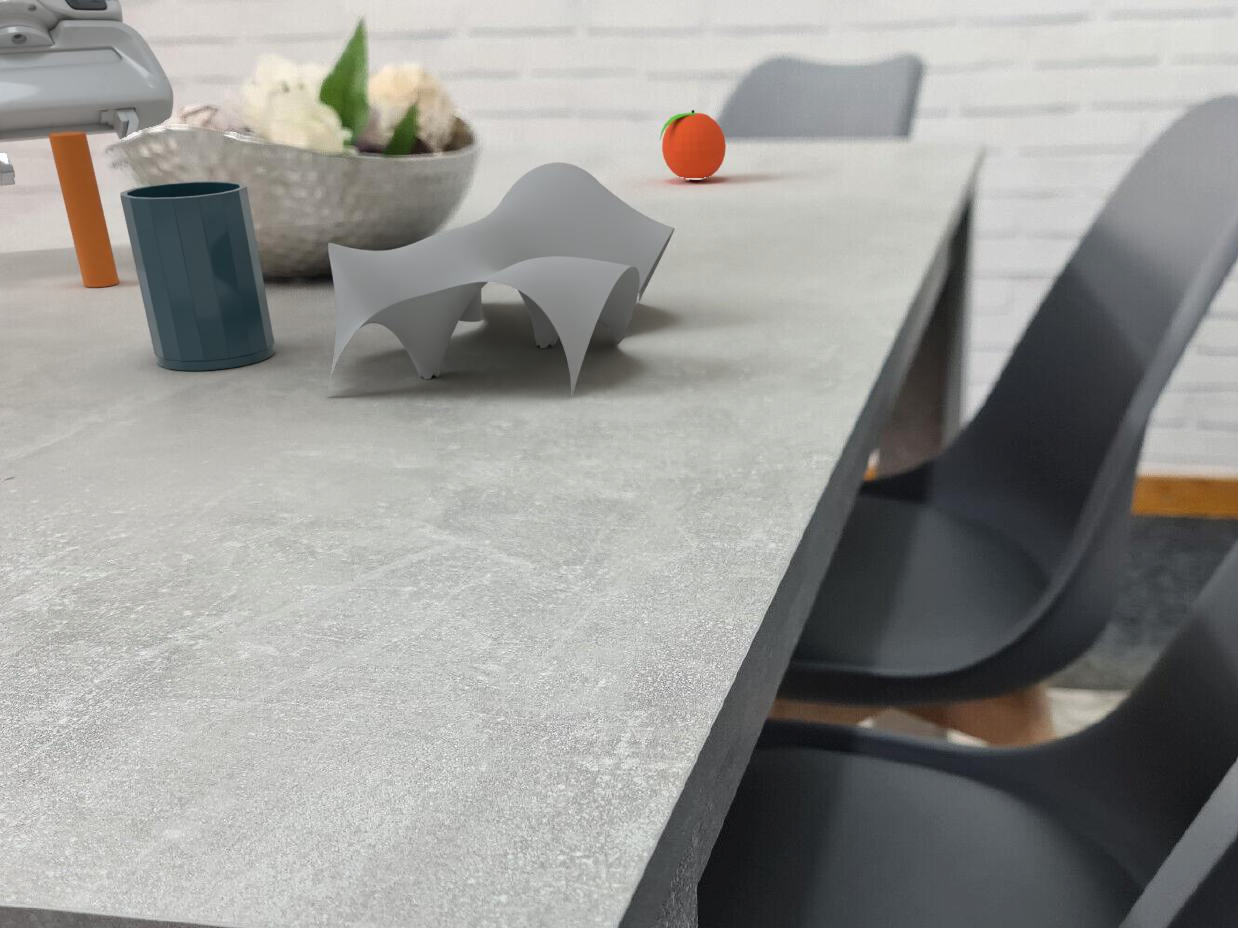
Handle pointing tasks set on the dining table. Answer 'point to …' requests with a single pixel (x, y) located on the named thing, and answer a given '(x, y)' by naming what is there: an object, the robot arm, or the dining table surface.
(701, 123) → the clementine
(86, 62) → the robot arm
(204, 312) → the can
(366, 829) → the dining table surface
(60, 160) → the cylinder
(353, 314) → the sculpture
